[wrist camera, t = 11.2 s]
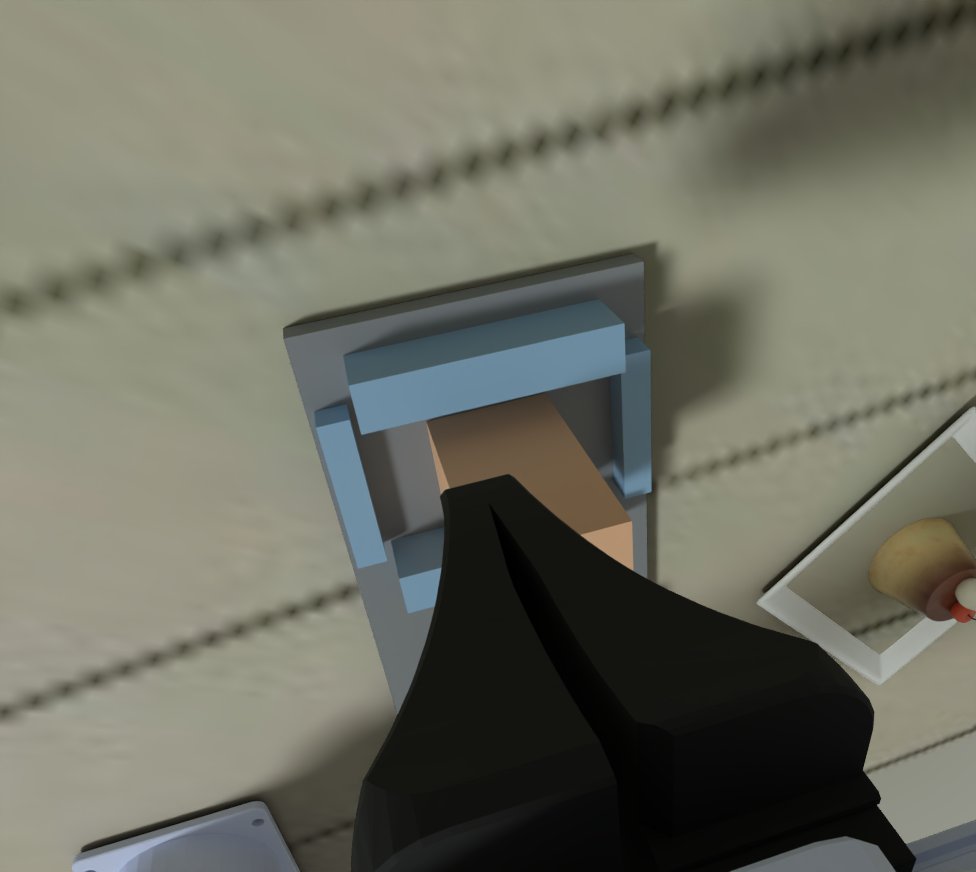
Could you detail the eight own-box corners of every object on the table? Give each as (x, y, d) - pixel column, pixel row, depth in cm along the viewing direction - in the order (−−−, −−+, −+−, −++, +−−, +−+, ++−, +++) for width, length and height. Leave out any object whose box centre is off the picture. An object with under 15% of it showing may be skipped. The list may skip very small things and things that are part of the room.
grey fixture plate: (642, 739, 37) (667, 790, 34) (427, 806, 35) (438, 864, 33) (633, 253, 23) (673, 282, 21) (283, 328, 22) (284, 368, 19)
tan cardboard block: (554, 489, 26) (635, 632, 20) (445, 518, 26) (496, 673, 20) (545, 393, 24) (632, 521, 18) (426, 421, 23) (475, 562, 18)
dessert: (865, 670, 39) (931, 746, 35) (742, 586, 33) (806, 667, 29) (1051, 515, 36) (1147, 578, 32) (953, 392, 30) (1056, 452, 26)
